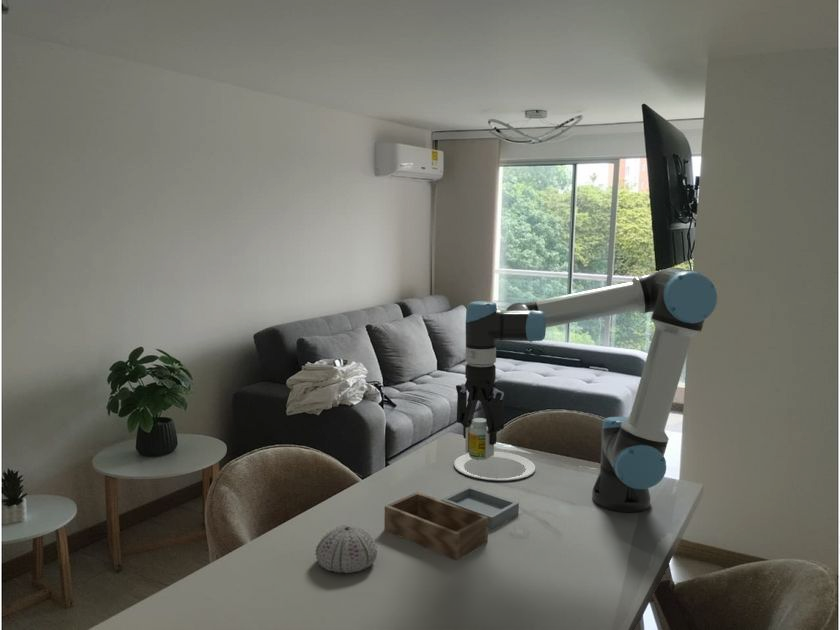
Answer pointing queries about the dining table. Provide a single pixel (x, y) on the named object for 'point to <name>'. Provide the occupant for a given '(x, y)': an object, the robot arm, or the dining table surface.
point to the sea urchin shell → (346, 550)
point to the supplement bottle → (477, 438)
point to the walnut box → (436, 525)
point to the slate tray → (484, 505)
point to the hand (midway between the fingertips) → (479, 453)
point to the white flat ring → (527, 463)
